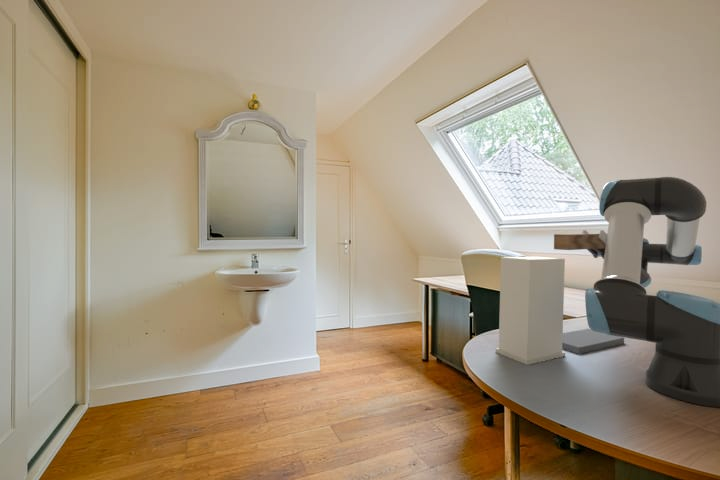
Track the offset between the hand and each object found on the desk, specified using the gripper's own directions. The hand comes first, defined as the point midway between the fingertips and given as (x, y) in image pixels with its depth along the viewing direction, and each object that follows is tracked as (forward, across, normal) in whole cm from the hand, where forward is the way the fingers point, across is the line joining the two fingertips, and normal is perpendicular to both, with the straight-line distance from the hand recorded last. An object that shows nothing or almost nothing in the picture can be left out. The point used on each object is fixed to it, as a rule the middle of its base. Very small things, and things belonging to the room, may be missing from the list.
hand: (591, 233), depth 117 cm
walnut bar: (+2, 0, -7) cm, 7 cm away
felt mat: (-16, 0, -35) cm, 38 cm away
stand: (+9, 0, -48) cm, 49 cm away
